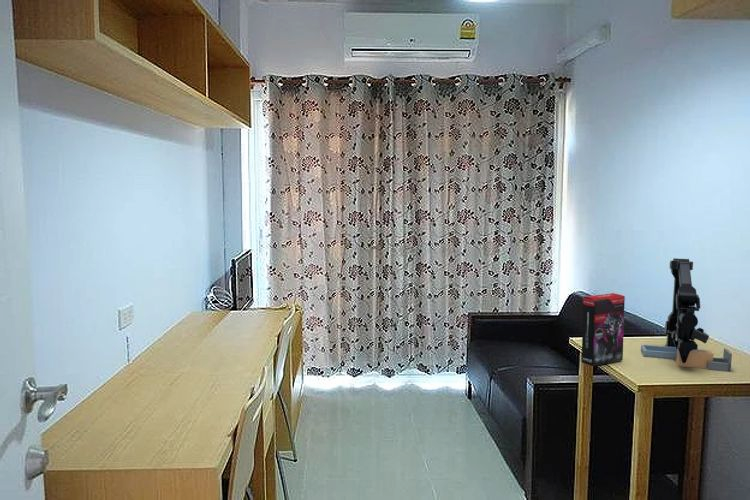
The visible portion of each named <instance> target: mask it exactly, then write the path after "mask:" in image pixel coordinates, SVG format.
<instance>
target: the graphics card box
mask: <svg viewBox="0 0 750 500" xmlns="http://www.w3.org/2000/svg"><path fill="white" fill-rule="evenodd" d="M625 301H626V297H625V296H624V295H623V294H618V293H616V292H611V293H605V294H593V295H586V296H583V298H582V331H581V332H582V333H581V334H582V335H581V337H582V338H581V363H583V364H585V365H588V366H591V367H597V366H602V365H607V364H611V363H616V362H622V361H623V360H624V357H623V355H624V333H625V332H624V330H625V329H624V327H625V304H626V303H625Z"/></svg>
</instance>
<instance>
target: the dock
mask: <svg viewBox="0 0 750 500" xmlns="http://www.w3.org/2000/svg"><path fill="white" fill-rule="evenodd" d="M722 354H723V356H722V357H716V356H715V357H714V356H713V362H710V361H707V368H706V369H707V370H708V371H721V372H729V373H730V372H732V371H731V369H732V357H733V354H732V352H731V351H730V350H729V349H728V348H727V347H726V348H723V353H722Z"/></svg>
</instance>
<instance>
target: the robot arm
mask: <svg viewBox="0 0 750 500" xmlns="http://www.w3.org/2000/svg"><path fill="white" fill-rule="evenodd" d="M669 269H670V273H671V274H672V277H673V279H674V280H673V283H674V284H673V294H672V296H673V297H672V310H671V312H670V313H669V315H668V316H667V320H666V321H665V326H664V334H665V335H666V344H665V346H666V347H676V350H677V348H678V350H679V353H680V357H681V360H682V363H686V361H687V358H688V355H689V353H690V351H692V350H697V349H698V345H699V344H698V343H697V342H696V341H700V342H702V343H703V344H707V342H708V340H709V338H710V335H709V334H707V332H705V330H704V329H703V328H702V327H697V326H698V323H699V320H698V317H697V316H696V314H695V312H700V309H701V300H700V297H699V294H697V289H696V288H695V287H694V286H693V284H692V273H691V271H693V270H694V261H690V259H689V258H675V257H674V258H673V259H672V260H670V261H669ZM696 327H697V328H696ZM695 340H696V341H695Z"/></svg>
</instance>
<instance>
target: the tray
mask: <svg viewBox="0 0 750 500" xmlns="http://www.w3.org/2000/svg"><path fill="white" fill-rule="evenodd" d="M640 351H641V353H642V356H643V357H645V358H658V359H667V360H676V357H677V350H676V347H666V346H663V345H662V346H661V345H653V344H640Z"/></svg>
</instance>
